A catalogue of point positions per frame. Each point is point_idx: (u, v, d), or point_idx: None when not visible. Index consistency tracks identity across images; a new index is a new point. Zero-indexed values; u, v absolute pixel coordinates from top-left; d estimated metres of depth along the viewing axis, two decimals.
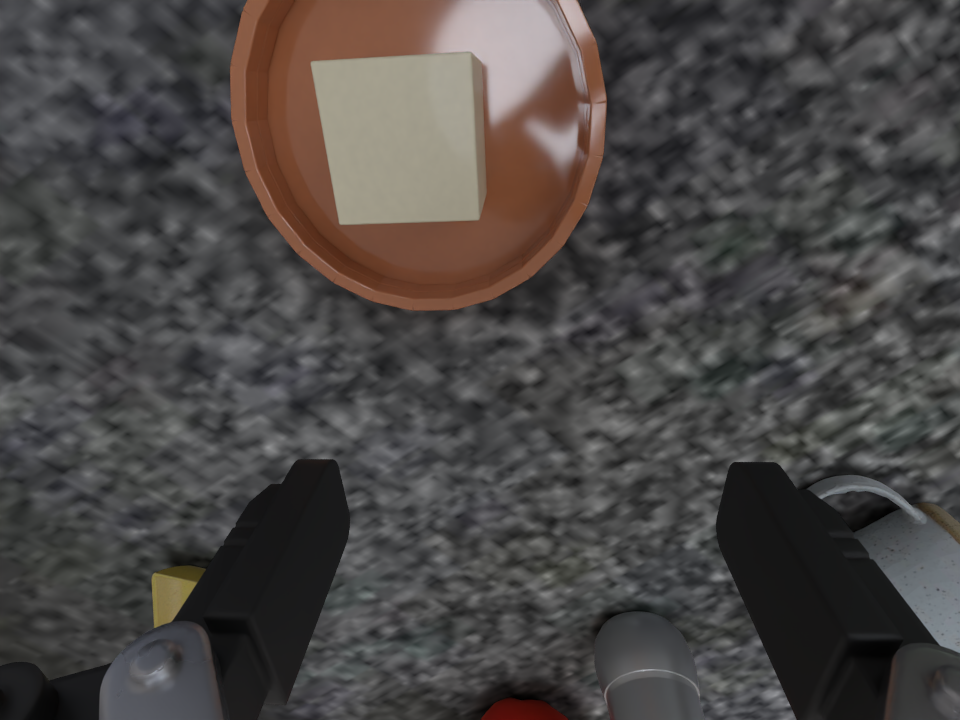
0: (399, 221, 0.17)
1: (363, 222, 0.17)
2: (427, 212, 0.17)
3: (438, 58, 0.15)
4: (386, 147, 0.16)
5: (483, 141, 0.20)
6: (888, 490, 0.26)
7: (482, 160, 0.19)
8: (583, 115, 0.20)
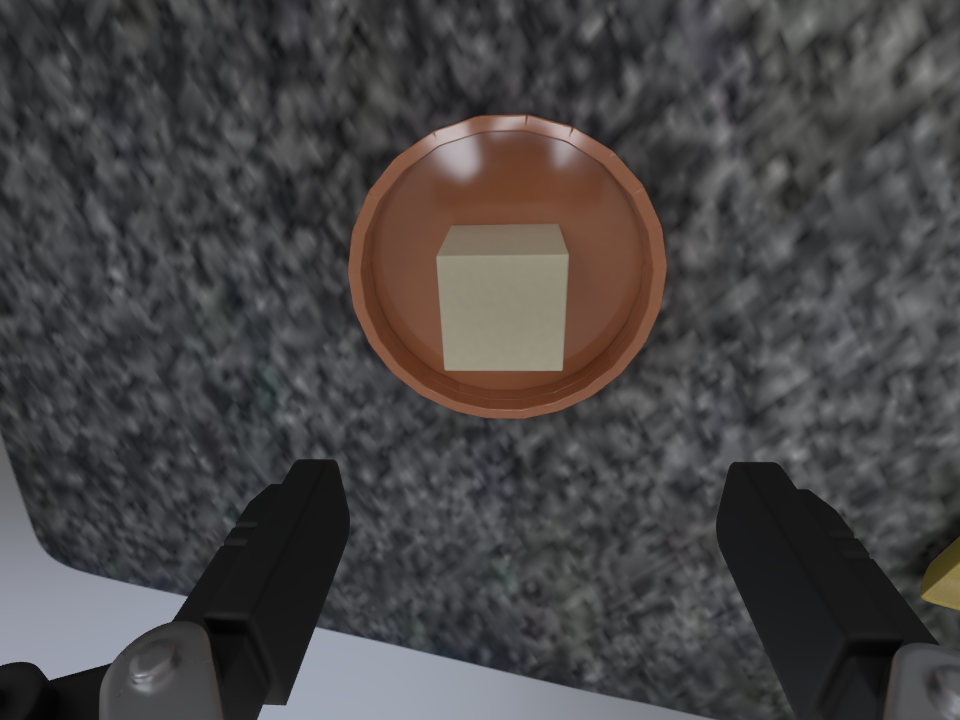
0: (563, 323, 0.20)
1: (562, 352, 0.20)
2: (557, 299, 0.19)
3: (441, 281, 0.19)
4: (503, 326, 0.20)
5: (510, 228, 0.22)
6: None
7: (524, 234, 0.21)
8: None
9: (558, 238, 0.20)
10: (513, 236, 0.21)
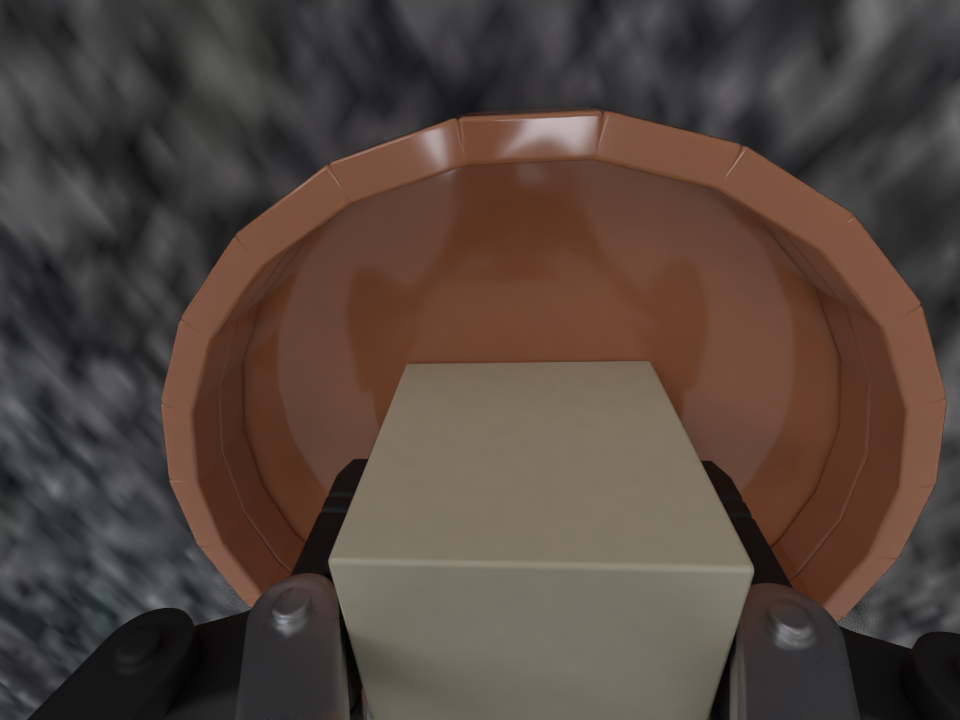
0: (709, 708, 0.07)
1: None
2: (700, 663, 0.06)
3: (350, 616, 0.06)
4: (536, 705, 0.07)
5: (542, 383, 0.09)
6: None
7: (581, 417, 0.08)
8: None
9: (678, 442, 0.08)
10: (554, 425, 0.08)
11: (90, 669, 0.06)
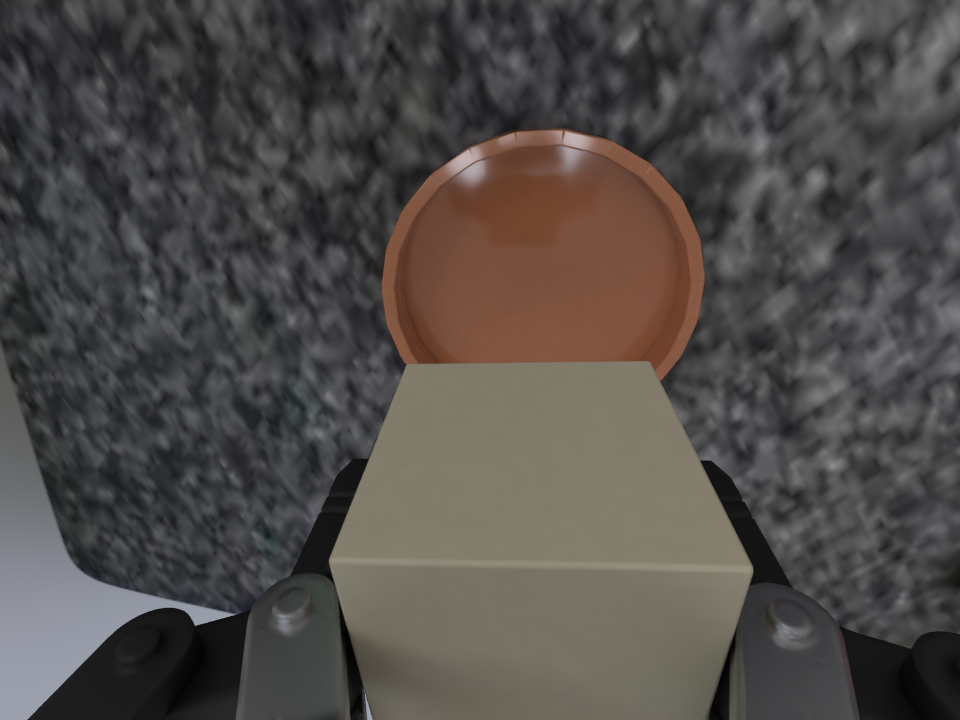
0: (708, 707, 0.07)
1: None
2: (700, 663, 0.06)
3: (350, 616, 0.06)
4: (536, 704, 0.07)
5: (542, 383, 0.09)
6: None
7: (581, 417, 0.08)
8: None
9: (678, 443, 0.08)
10: (554, 425, 0.08)
11: (90, 669, 0.06)
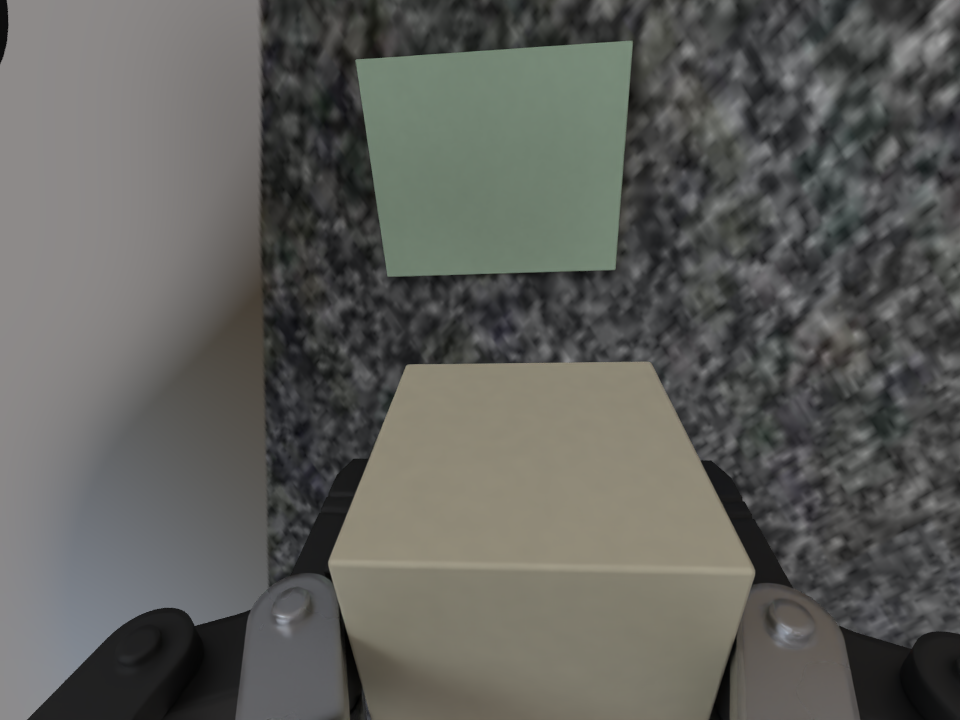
0: (709, 710, 0.07)
1: None
2: (701, 665, 0.06)
3: (349, 618, 0.06)
4: (537, 707, 0.07)
5: (543, 384, 0.09)
6: None
7: (581, 418, 0.08)
8: None
9: (679, 444, 0.08)
10: (555, 426, 0.08)
11: (90, 669, 0.06)
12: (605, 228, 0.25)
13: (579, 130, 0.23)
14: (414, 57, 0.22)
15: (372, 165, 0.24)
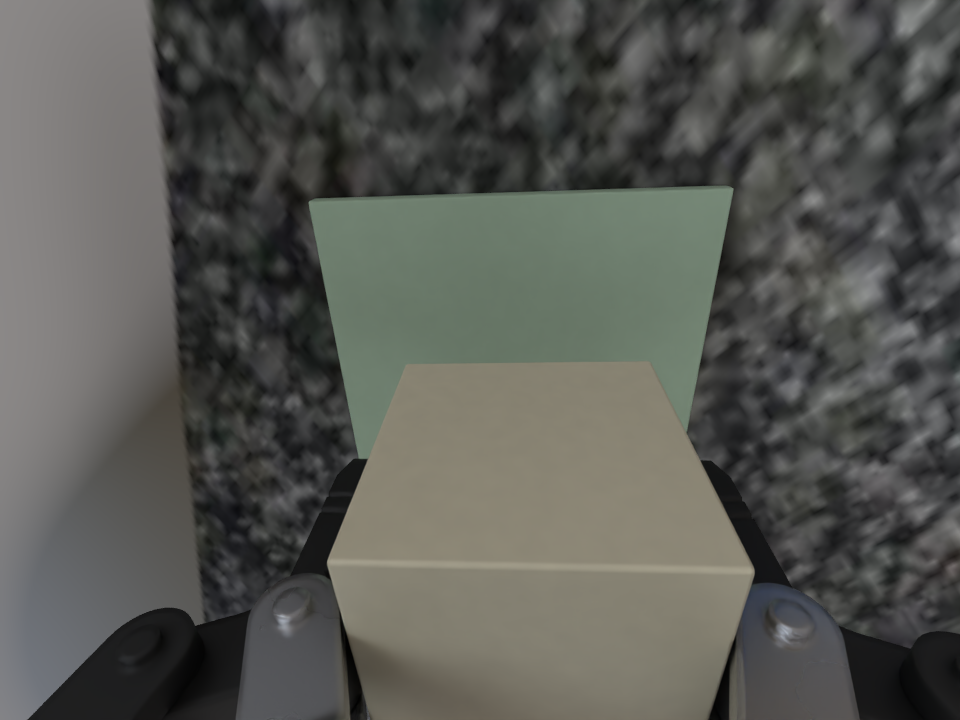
0: (709, 709, 0.07)
1: None
2: (700, 665, 0.06)
3: (348, 618, 0.06)
4: (536, 706, 0.07)
5: (542, 383, 0.09)
6: None
7: (580, 417, 0.08)
8: None
9: (678, 443, 0.08)
10: (554, 426, 0.08)
11: (90, 669, 0.06)
12: None
13: (641, 303, 0.15)
14: (397, 201, 0.14)
15: (336, 337, 0.16)
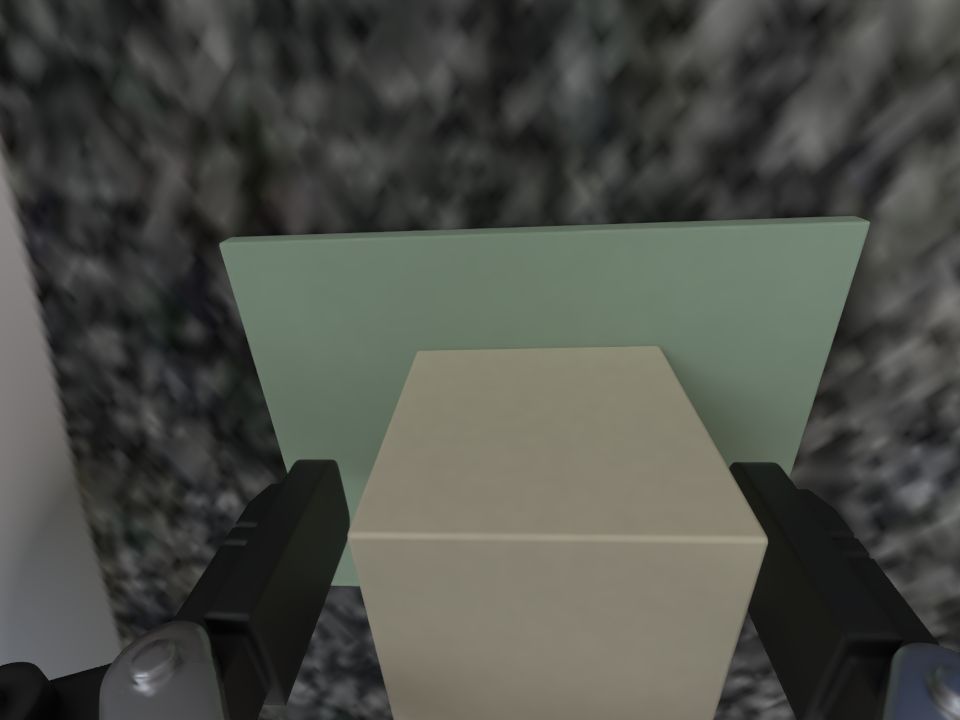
0: (722, 682, 0.07)
1: None
2: (714, 637, 0.07)
3: (368, 591, 0.06)
4: (552, 681, 0.07)
5: (553, 367, 0.09)
6: None
7: (592, 399, 0.08)
8: None
9: (689, 422, 0.08)
10: (566, 407, 0.08)
11: None
12: None
13: (713, 386, 0.10)
14: (351, 242, 0.09)
15: (276, 427, 0.12)
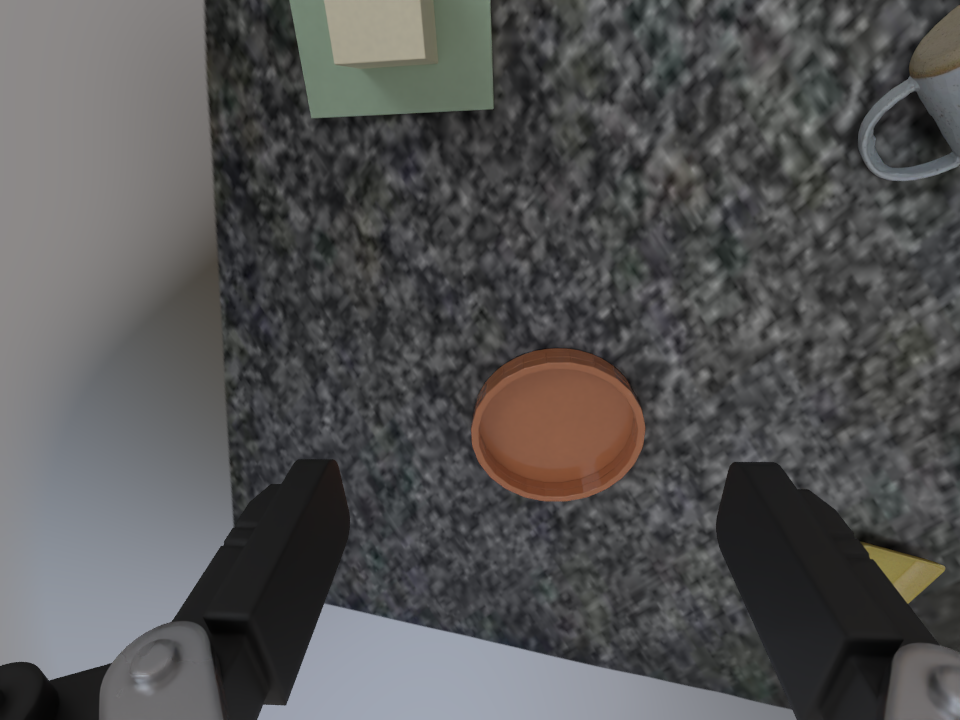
0: (419, 8, 0.25)
1: (422, 38, 0.26)
2: None
3: None
4: (374, 15, 0.25)
5: None
6: (876, 112, 0.29)
7: None
8: None
9: None
10: None
11: None
12: (481, 70, 0.31)
13: None
14: None
15: (293, 15, 0.30)
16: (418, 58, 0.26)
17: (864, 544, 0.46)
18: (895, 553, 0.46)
